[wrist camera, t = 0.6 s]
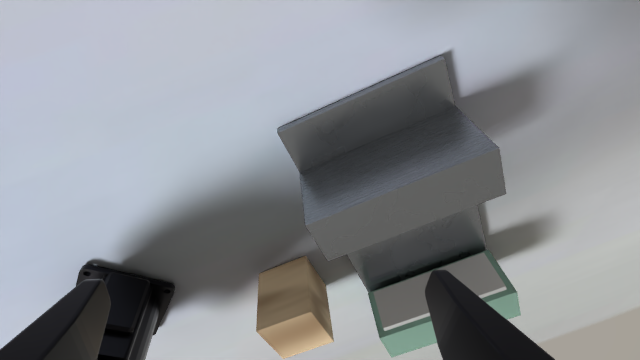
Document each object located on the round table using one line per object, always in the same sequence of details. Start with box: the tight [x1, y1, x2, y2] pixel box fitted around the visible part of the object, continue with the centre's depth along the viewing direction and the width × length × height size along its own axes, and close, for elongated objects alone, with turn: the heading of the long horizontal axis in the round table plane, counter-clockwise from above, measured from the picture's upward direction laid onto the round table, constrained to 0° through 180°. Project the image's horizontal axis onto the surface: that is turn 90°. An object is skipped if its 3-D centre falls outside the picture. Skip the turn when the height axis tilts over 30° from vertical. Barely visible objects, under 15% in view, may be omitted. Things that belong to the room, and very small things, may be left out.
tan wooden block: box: [256, 256, 334, 359], centre depth 27 cm, size 4×4×5 cm
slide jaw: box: [368, 250, 521, 357], centre depth 28 cm, size 3×10×4 cm, turn 113°
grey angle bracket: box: [277, 55, 506, 293], centre depth 24 cm, size 22×10×6 cm, turn 23°
